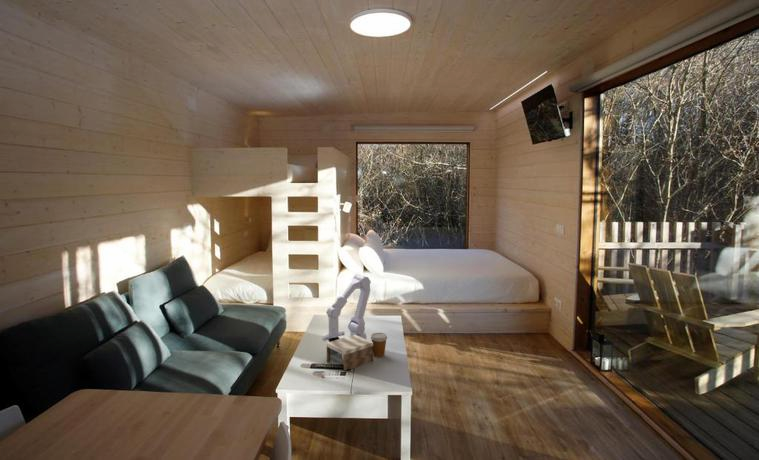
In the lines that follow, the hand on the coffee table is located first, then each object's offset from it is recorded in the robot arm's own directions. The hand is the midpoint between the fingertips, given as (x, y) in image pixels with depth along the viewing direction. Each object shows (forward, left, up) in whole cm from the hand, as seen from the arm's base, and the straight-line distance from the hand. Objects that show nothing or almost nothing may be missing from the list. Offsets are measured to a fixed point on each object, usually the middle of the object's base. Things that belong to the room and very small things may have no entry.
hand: (333, 349), depth 262 cm
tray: (0, +11, -2) cm, 11 cm away
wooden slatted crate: (0, +15, -2) cm, 15 cm away
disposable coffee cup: (-18, +19, -3) cm, 27 cm away
